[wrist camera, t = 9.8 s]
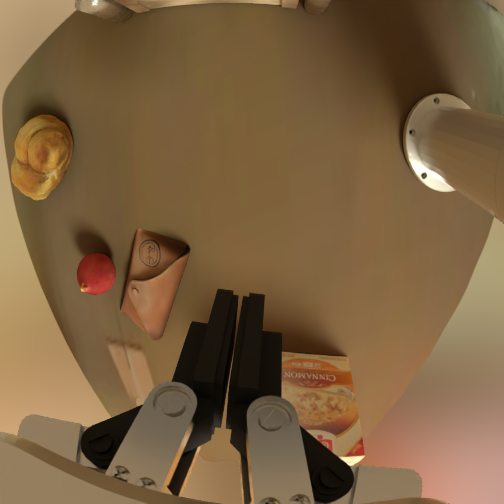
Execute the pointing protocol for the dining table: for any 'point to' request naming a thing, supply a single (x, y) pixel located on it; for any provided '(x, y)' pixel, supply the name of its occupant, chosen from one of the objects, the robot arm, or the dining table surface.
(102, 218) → the dining table surface
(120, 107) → the dining table surface
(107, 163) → the dining table surface
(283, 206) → the dining table surface
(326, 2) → the hinge post
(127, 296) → the sunglasses case
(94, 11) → the slab and cylinder
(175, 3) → the strip
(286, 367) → the coffeecake box
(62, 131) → the bread roll
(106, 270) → the red round fruit
